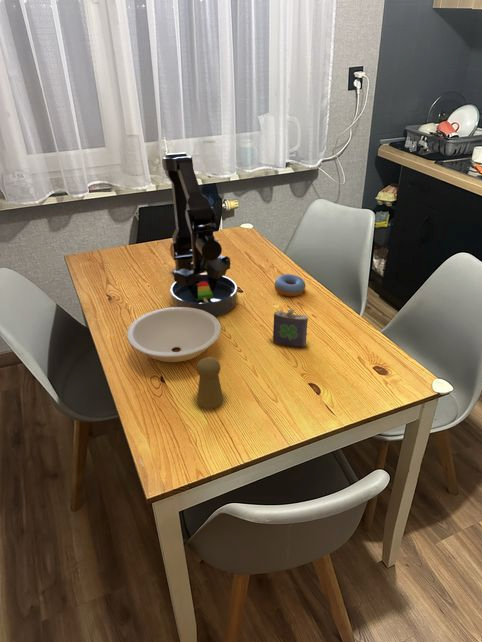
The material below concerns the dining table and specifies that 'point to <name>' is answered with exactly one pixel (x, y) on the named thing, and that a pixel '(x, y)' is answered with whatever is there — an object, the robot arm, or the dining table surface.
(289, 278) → the doughnut
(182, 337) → the grey bowl
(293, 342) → the flask
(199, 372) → the brown game pawn
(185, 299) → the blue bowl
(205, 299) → the popsicle
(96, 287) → the dining table surface
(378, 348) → the dining table surface
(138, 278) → the dining table surface
